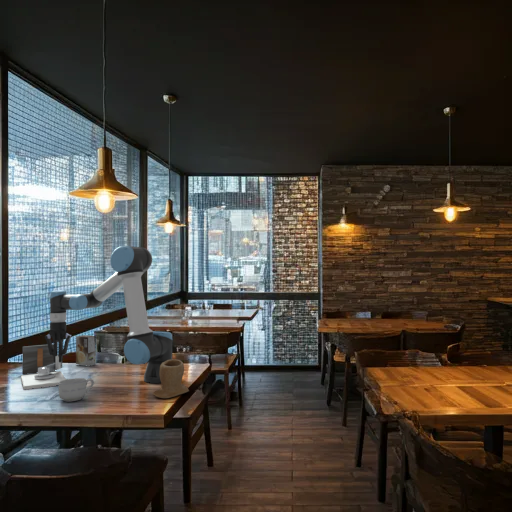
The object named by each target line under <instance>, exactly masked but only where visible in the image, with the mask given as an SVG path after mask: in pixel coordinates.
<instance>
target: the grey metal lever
mask: <svg viewBox="0 0 512 512" xmlns="http://www.w3.org/2000/svg"><path fill="white" fill-rule="evenodd" d="M62 368H63V361H62V362H61V368H60V369H62ZM50 372H56V371H55V363H53V364H50V365H47V366H45V367H39V368H38V373H37V374H38V375H36V376H35V379H49V378H53V377H55V374H53V373H50Z"/></svg>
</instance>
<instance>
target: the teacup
mask: <svg viewBox="0 0 512 512" xmlns="http://www.w3.org/2000/svg"><path fill="white" fill-rule="evenodd" d="M88 382H90V385H89V387H87V384H88ZM58 384H59V386H58V396H59V398H60V399H61V400H62V401H64V402H65V403H69V402H77V401H80V400H82V399H83V398H84V397H85V395H86V394H87V393H88V391H89V390H91V389H92V388H93V387H94V385H95V381H94V379H92V378H84V377H83V378H82V377H81V378H80V377H75V378H68V379H67V378H66V380H63V381H60V382H58Z"/></svg>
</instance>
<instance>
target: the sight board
mask: <svg viewBox="0 0 512 512" xmlns="http://www.w3.org/2000/svg"><path fill="white" fill-rule="evenodd" d="M52 346H53V344H52ZM53 363H55V362H54V356H53V355H50V353H49V349H48V345H47V344H38V345H28V346H25V345H24V346H22V363H21V364H22V368H21V369H22V370H21V371H22V372H21V373H22V374H25V375H28V374H27V373H34V374H37V373H36V372H38V368H39V367H45V366H47V365H50V364H53Z"/></svg>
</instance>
